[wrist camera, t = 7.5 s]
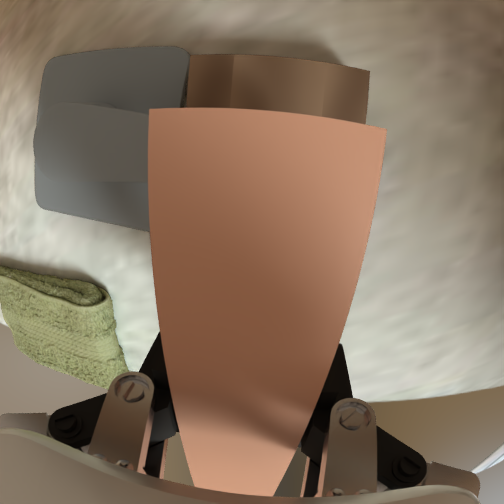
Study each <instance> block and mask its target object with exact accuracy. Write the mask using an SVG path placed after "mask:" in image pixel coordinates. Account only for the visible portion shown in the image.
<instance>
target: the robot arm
mask: <svg viewBox="0 0 504 504" xmlns="http://www.w3.org/2000/svg"><path fill="white" fill-rule="evenodd" d="M176 432H179V433H180V431H179V427H178V423H177V419H176V414H175V410H174V405H173V401H172V396H171V391H170V386H169V381H168V376H167V370H166V365H165V359H164V353H163V347H162V340H161V334H160V332H159V334H158V335H157V337H156V339H155V341H154V343H153V345H152V347H151V349H150V351H149V353H148V355H147V357H146V358H145V360H144V362H143V364H142V366H141V368H140V370H139V372H126V373H122V374H120V375H118V376H117V377H116V378H115V379H113V381H112V382H111V384H110V386H109V389H108V392H107V393H106V394H103V395H100V396H97V397H94V398H91V399H88V400H85V401H82V402H79V403H76V404H73V405H70V406H66V407H63V408H61V409H58V410H56V411H55V412H54V413H53V414H52V415H48V414H47V413H7V414H2V415H1V416H0V504H480V502H479V500H478V494H479V490H480V481H479V478H478V477H477V476H476V474H474V473H472V472H469V471H465V470H461V469H457V468H454V467H450V466H446V465H443V464H439V463H436V462H433V461H432V462H431V463H426V461H425V459H424V458H423V457H422V455H420V454H419V453H418V452H416V451H415V450H413V449H412V448H410V447H408V446H407V445H405V444H404V443H402V442H401V441H399V440H397V439H396V438H395V437H393V436H392V435H390V434H388V433H387V432H385V431H384V430H382V429H381V428H380V427H378V426H377V425H376V416H375V412H374V410H373V409H372V407H371V406H370V405H369V404H368V403H366V402H365V401H363V400H360V399H356V398H353V395H352V390H351V385H350V380H349V374H348V369H347V365H346V360H345V355H344V350H343V346H342V344H338V347H337V350H336V353H335V356H334V359H333V362H332V364H331V367H330V370H329V373H328V375H327V378H326V381H325V383H324V386H323V388H322V391H321V394H320V396H319V399H318V401H317V404H316V406H315V408H314V411H313V413H312V416H311V418H310V420H309V423H308V425H307V427H306V429H305V432H304V434H303V436H302V438H301V441H300V443H299V445H298V447H301V451H302V452H303V453H304V454H306V455H307V456H308V457H307V462H306V468H305V474H304V479H303V485H302V490H301V495H300V497H271V496H257V495H246V494H237V493H229V492H222V491H216V490H210V489H204V488H199V487H193V486H188V485H184V484H180V483H175V482H171V481H167V480H163V474H164V467H165V459H166V452H167V445H168V438H170V437H172V436H174V435H175V434H176Z"/></svg>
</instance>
